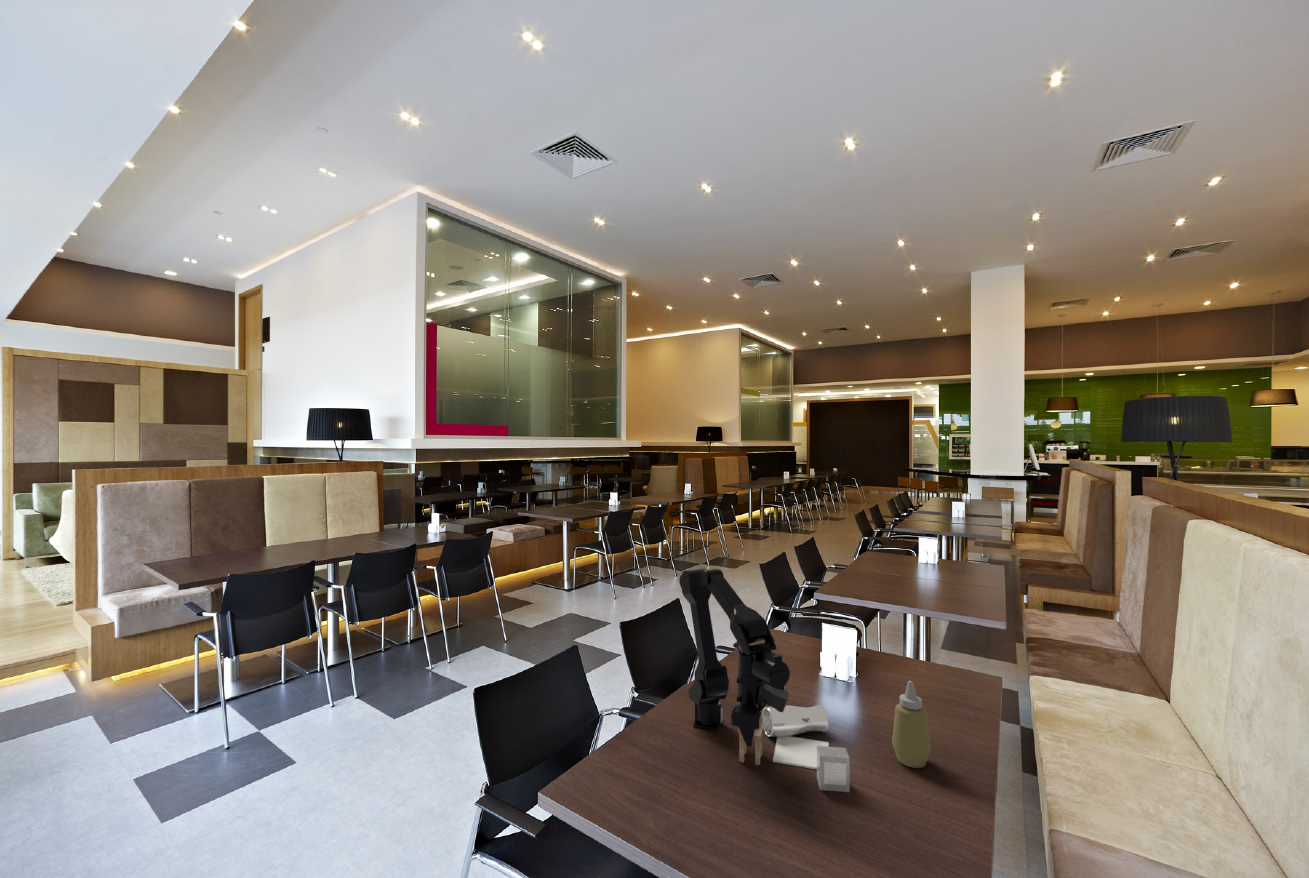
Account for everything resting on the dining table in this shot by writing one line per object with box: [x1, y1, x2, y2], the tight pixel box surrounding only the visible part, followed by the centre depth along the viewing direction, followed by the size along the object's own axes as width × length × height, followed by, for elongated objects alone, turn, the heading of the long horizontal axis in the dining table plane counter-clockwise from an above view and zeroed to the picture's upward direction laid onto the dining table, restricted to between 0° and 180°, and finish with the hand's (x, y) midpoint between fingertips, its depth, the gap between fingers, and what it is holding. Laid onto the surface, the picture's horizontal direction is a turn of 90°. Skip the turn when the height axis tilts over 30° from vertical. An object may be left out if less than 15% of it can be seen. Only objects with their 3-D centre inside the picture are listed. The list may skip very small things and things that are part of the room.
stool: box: [737, 720, 764, 766], centre depth 127 cm, size 5×5×8 cm
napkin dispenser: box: [816, 746, 851, 793], centre depth 116 cm, size 6×4×7 cm
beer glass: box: [761, 704, 829, 738], centre depth 138 cm, size 7×7×15 cm
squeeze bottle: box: [891, 680, 932, 769], centre depth 126 cm, size 8×8×18 cm
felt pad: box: [772, 736, 830, 770], centre depth 129 cm, size 12×12×1 cm
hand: (750, 740), depth 127 cm, fingers closed on stool, 5 cm apart
